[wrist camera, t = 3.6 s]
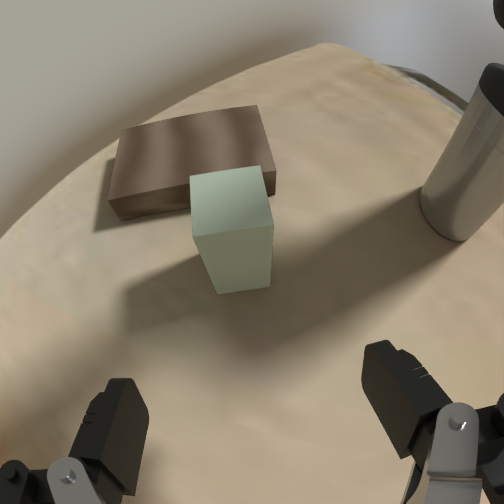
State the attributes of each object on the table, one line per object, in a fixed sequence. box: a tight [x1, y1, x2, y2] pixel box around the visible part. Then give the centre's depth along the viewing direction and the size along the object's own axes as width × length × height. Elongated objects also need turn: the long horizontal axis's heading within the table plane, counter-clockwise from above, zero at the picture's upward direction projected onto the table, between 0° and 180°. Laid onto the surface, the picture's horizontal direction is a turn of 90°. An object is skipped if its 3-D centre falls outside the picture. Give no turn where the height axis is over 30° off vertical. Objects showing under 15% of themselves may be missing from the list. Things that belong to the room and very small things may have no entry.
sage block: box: [190, 165, 274, 295], centre depth 24 cm, size 5×5×11 cm
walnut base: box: [107, 105, 276, 220], centre depth 33 cm, size 18×12×4 cm, turn 99°
